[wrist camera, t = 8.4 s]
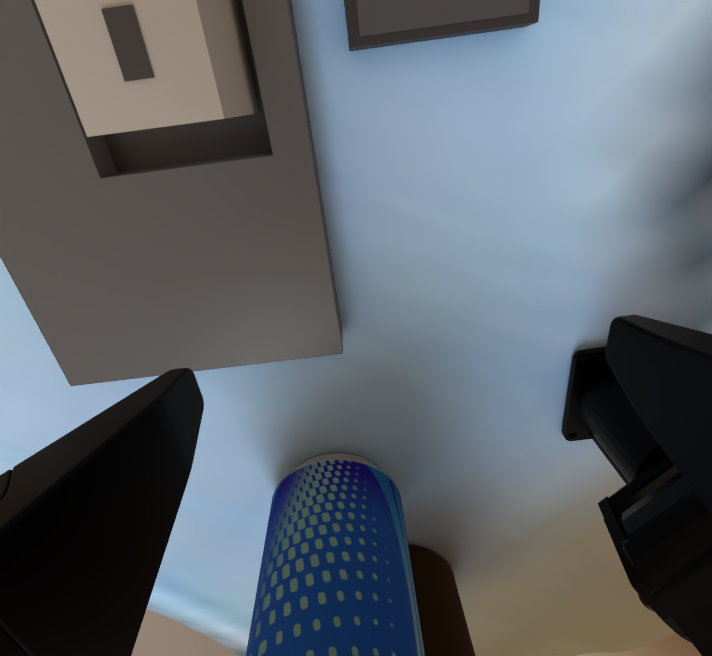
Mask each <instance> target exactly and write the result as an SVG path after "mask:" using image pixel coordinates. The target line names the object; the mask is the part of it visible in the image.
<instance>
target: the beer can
mask: <svg viewBox="0 0 712 656" xmlns="http://www.w3.org/2000/svg"><path fill="white" fill-rule="evenodd" d="M246 656H425V652H424V646H423V639H422V633H421V626H420V620H419V613H418V607H417V601H416V594H415V588H414V581H413V575H412V568H411V562H410V555H409V549H408V542H407V536H406V529H405V523H404V516H403V510H402V503H401V497H400V494H399V491H398V489H397V487H396V485H395V484H394V482H393V481H392V480H391V479H390V478H389V477H388V476H387V475H386V474H385V473H384V472H382V471H381V470H380V469H379V468H378V467H377V466H376V465H374V464H373V463H372V462H370V461H368V460H366V459H364V458H362V457H359V456H356V455H351V454H345V453H330V454H323V455H319V456H316V457H313V458H311V459H308V460H307V461H305V462H303V463H302V464H300V465H299V466H298V467H296V468H295V469H294V470H293V472H291V473H290V474H288V475H287V476H286V477H285V478H284V479H283V480H282V481H281V482H280V483H279V485H278V486H277V488H276V490H275V492H274V495H273V498H272V504H271V509H270V515H269V521H268V527H267V533H266V539H265V545H264V551H263V557H262V563H261V569H260V575H259V581H258V587H257V593H256V599H255V605H254V611H253V617H252V622H251V628H250V634H249V640H248V646H247V652H246Z"/></svg>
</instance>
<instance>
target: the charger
mask: <svg viewBox="0 0 712 656" xmlns="http://www.w3.org/2000/svg"><path fill="white" fill-rule="evenodd" d="M35 3H36V5H37V8H38V11H39V13H40V16H41V18H42V21H43V24H44V26H45V29H46V31H47V34H48V37H49V39H50V42H51V44H52V47H53V50H54V52H55V55H56V57H57V60H58V63H59V65H60V68H61V70H62V73H63V76H64V78H65V81H66V83H67V86H68V89H69V91H70V94H71V96H72V99H73V102H74V104H75V107H76V109H77V112H78V114H79V117H80V120H81V122H82V125H83V127H84V130H85V133H86V135H87V137H91V136H99V135H106V134H114V133H121V132H129V131H136V130H144V129H151V128H159V127H166V126H174V125H181V124H189V123H196V122H204V121H211V120H219V119H226V118H232V117H239V116H245V115H251V114H257V113H259V109H258V104H257V99H256V94H255V89H254V84H253V79H252V74H251V69H250V64H249V59H248V54H247V49H246V44H245V39H244V34H243V30H242V25H241V20H240V15H239V10H238V5H237V0H35Z"/></svg>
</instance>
